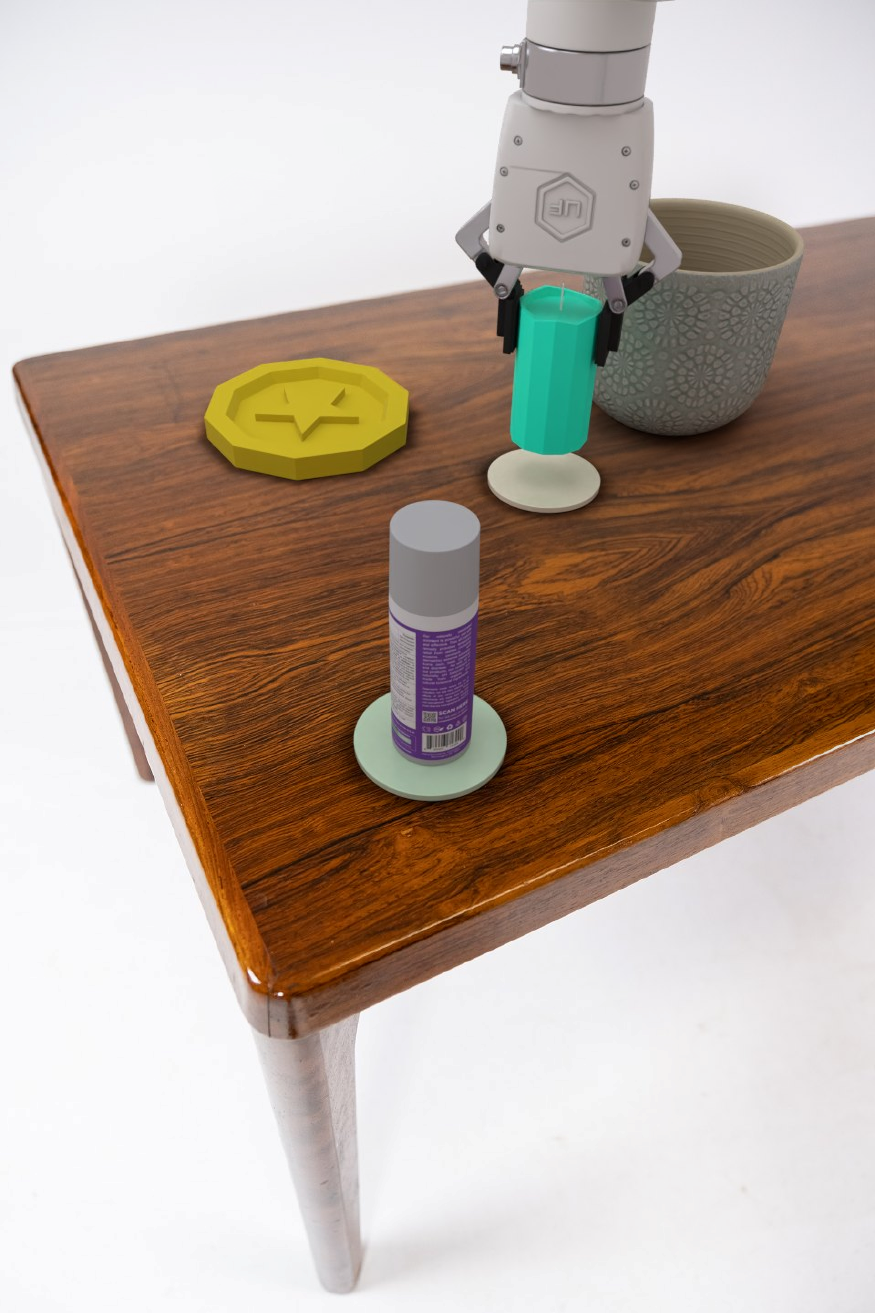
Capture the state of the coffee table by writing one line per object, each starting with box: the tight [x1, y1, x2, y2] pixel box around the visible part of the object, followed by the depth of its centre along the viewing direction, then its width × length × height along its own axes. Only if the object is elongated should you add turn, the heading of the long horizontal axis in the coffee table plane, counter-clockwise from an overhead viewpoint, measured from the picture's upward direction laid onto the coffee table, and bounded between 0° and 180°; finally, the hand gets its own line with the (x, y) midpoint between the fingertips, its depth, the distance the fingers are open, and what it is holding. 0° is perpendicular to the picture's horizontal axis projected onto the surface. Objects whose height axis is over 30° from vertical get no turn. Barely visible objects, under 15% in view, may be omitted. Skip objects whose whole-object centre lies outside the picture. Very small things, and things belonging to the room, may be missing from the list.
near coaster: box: [353, 691, 508, 802], centre depth 60 cm, size 9×9×1 cm
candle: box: [509, 281, 603, 455], centre depth 74 cm, size 6×6×12 cm
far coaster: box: [486, 448, 601, 514], centre depth 81 cm, size 9×9×1 cm
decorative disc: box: [203, 357, 410, 481], centre depth 87 cm, size 17×18×2 cm
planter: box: [581, 197, 805, 437], centre depth 85 cm, size 17×17×15 cm
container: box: [388, 499, 481, 766], centre depth 54 cm, size 5×5×15 cm
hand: (556, 350), depth 74 cm, fingers closed on candle, 6 cm apart
